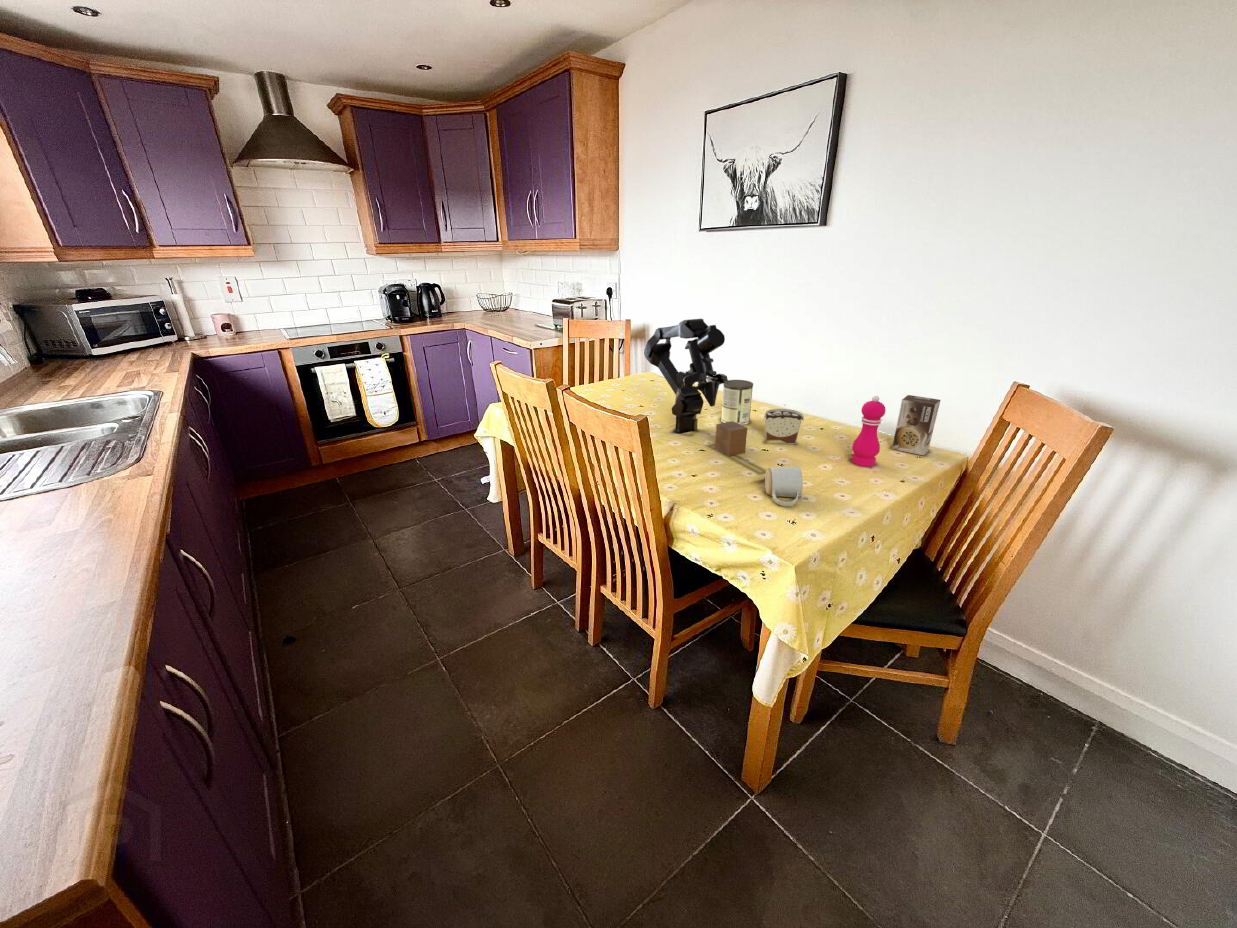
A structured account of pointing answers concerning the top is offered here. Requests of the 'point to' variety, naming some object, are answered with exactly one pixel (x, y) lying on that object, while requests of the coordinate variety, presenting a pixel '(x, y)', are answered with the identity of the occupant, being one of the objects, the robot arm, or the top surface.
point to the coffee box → (915, 424)
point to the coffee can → (737, 401)
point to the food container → (783, 425)
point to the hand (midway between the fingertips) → (712, 406)
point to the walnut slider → (730, 438)
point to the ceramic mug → (784, 483)
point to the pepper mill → (868, 434)
